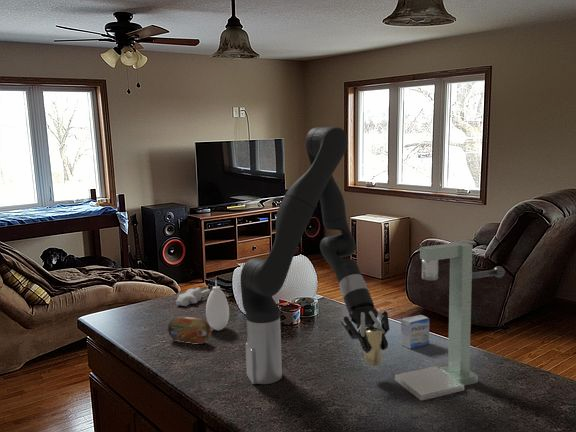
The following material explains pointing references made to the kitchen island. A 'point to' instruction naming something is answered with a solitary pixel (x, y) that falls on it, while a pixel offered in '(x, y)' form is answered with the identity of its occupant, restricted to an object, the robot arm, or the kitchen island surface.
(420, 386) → the press bed
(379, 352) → the housing
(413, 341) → the medicine box
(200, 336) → the tin
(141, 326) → the kitchen island surface
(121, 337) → the kitchen island surface
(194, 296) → the bunny figurine
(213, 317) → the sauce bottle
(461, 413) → the kitchen island surface
